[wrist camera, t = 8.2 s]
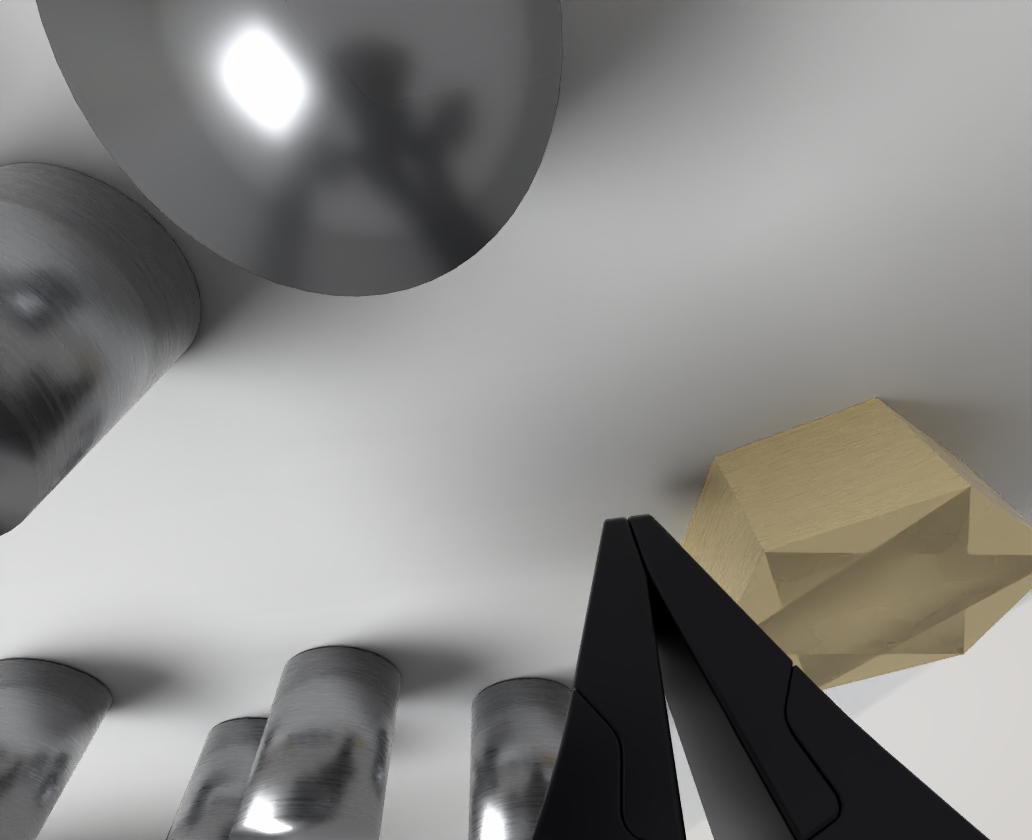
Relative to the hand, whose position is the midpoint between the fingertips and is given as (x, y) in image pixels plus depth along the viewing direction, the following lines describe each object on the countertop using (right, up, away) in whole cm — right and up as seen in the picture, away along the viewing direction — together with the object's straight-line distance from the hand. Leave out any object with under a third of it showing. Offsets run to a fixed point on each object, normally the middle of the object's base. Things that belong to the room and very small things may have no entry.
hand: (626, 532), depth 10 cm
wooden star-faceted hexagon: (+4, 0, +1) cm, 4 cm away
